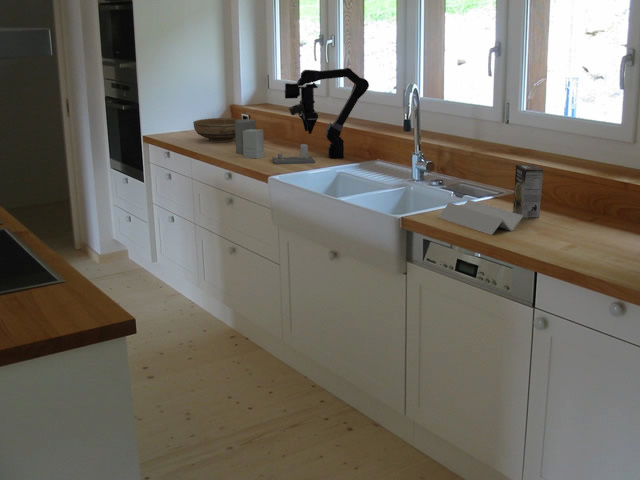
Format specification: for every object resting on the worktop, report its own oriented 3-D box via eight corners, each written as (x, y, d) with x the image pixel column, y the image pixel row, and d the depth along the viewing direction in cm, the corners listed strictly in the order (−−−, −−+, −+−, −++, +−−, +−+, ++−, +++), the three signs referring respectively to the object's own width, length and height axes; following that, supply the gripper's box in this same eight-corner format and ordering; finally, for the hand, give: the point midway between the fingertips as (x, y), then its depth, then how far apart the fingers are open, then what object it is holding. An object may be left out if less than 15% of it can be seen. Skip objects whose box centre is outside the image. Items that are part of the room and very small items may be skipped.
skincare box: (250, 151, 383) (249, 118, 379) (257, 153, 377) (256, 120, 373) (234, 152, 379) (233, 119, 374) (241, 154, 373) (240, 121, 369)
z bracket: (500, 246, 241) (491, 234, 237) (447, 228, 261) (438, 217, 258) (523, 216, 243) (513, 203, 239) (468, 200, 263) (459, 188, 260)
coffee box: (512, 211, 265) (515, 164, 261) (530, 210, 266) (534, 163, 261) (520, 218, 257) (524, 169, 252) (540, 217, 257) (543, 169, 253)
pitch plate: (311, 158, 363) (311, 151, 362) (314, 163, 352) (314, 155, 351) (272, 159, 361) (272, 151, 360) (274, 164, 349) (274, 156, 348)
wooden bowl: (259, 143, 406) (258, 124, 403) (206, 147, 394) (205, 127, 391) (234, 134, 438) (234, 116, 435) (185, 137, 426) (184, 119, 423)
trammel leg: (306, 157, 358) (306, 144, 356) (307, 158, 355) (307, 145, 353) (300, 157, 358) (300, 144, 356) (301, 158, 355) (301, 145, 353)
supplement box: (264, 156, 369) (264, 129, 365) (256, 158, 362) (256, 131, 359) (250, 155, 372) (250, 128, 368) (243, 157, 365) (242, 130, 362)
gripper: (286, 96, 364) (287, 130, 368) (293, 100, 346) (294, 136, 351) (310, 95, 366) (310, 129, 370) (318, 100, 348) (318, 135, 353)
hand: (308, 132), depth 361 cm, fingers open, 9 cm apart
